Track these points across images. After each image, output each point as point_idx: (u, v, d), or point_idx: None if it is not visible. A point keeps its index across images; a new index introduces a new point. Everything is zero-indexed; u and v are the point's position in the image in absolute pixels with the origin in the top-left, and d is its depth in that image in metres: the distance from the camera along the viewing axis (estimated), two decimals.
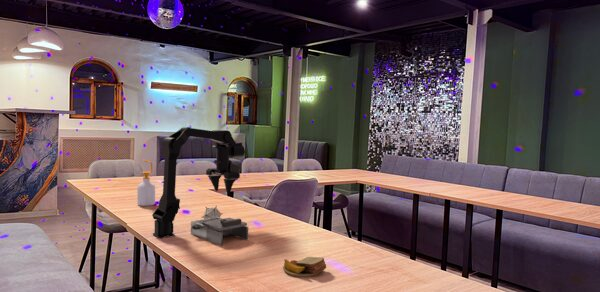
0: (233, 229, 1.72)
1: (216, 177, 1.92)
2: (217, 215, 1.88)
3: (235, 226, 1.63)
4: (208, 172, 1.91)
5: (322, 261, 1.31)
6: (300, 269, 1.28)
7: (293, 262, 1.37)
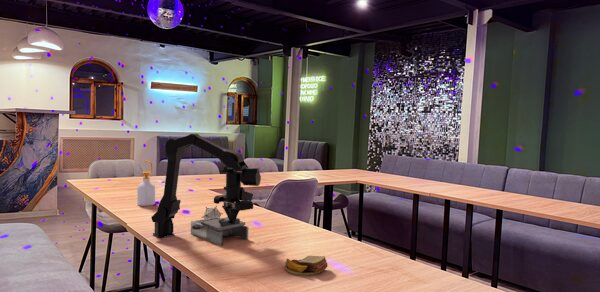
0: (233, 229, 1.72)
1: None
2: (217, 215, 1.88)
3: (233, 225, 1.64)
4: (216, 200, 1.65)
5: (324, 260, 1.33)
6: (303, 268, 1.29)
7: (294, 261, 1.38)
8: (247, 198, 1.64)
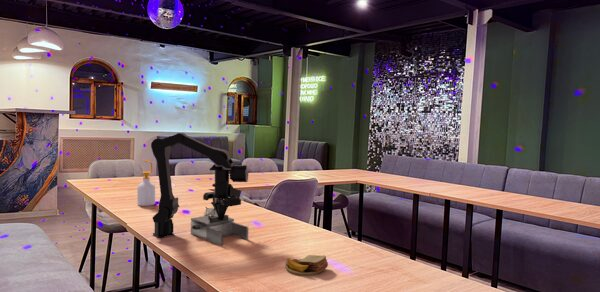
0: (233, 229, 1.72)
1: None
2: None
3: (222, 222, 1.69)
4: (205, 197, 1.70)
5: (324, 259, 1.33)
6: (304, 267, 1.29)
7: (294, 261, 1.38)
8: (235, 195, 1.70)
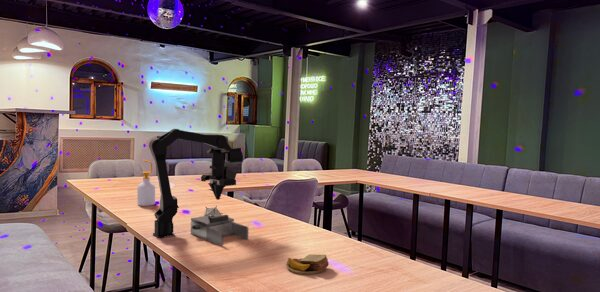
0: (233, 229, 1.72)
1: None
2: None
3: (222, 222, 1.69)
4: (203, 178, 1.83)
5: (325, 258, 1.34)
6: (305, 267, 1.30)
7: (295, 260, 1.39)
8: (231, 176, 1.82)
